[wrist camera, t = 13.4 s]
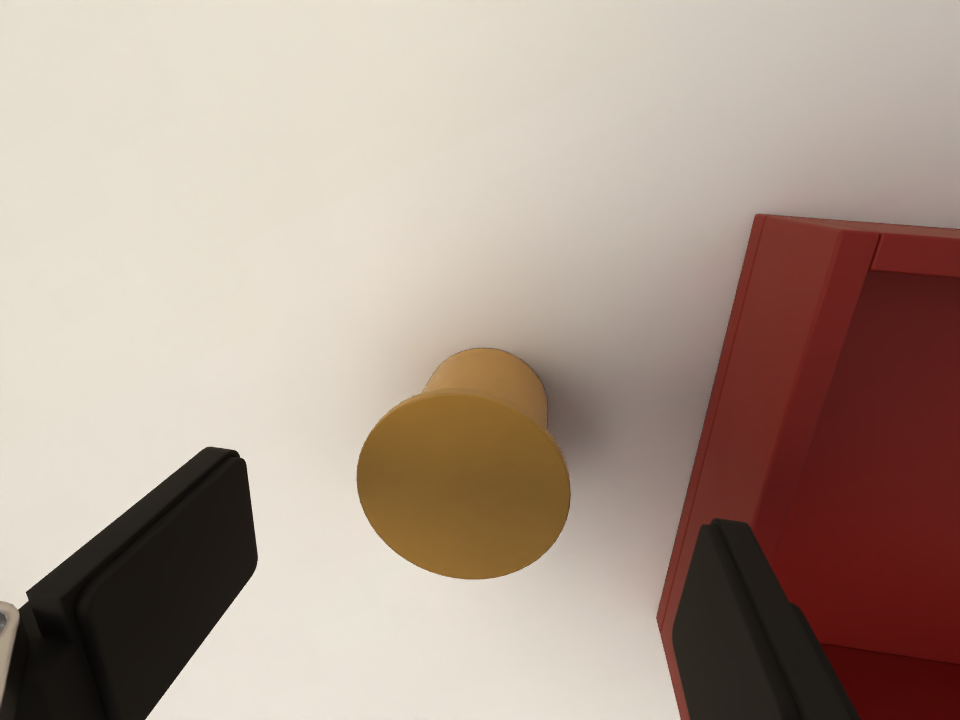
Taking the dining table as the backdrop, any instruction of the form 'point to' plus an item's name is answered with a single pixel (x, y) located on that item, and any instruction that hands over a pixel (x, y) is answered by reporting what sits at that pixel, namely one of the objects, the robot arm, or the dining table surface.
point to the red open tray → (844, 451)
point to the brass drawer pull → (467, 470)
